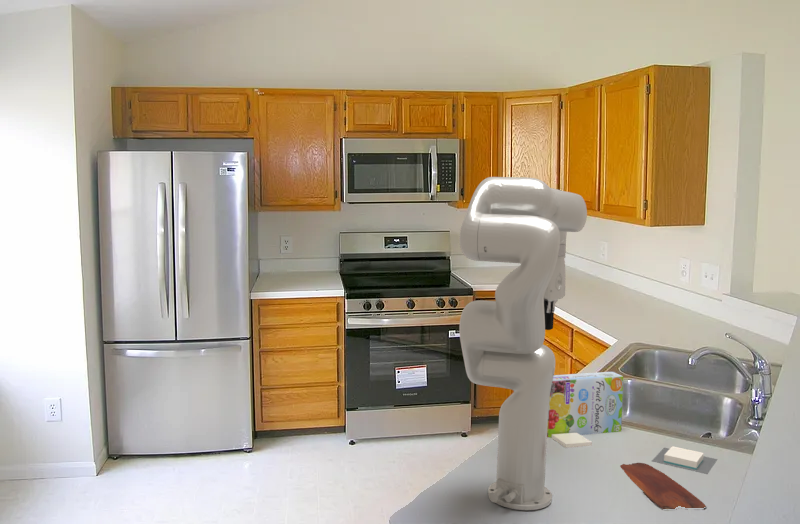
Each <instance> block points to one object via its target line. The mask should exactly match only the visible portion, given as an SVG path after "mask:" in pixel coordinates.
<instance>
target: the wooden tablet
mask: <svg viewBox="0 0 800 524" xmlns="http://www.w3.org/2000/svg"><path fill="white" fill-rule="evenodd" d="M619 467H620V468H621V469H622V471H623V473H625V474H626V476H627V477H628V478H629V479H630V480H631V482H633V484H635V486H637V488H638V489H640V490H641V492H643V494H644V495H645V496H646V497H647V498H648V499H649V500H650V501H651V502H653V504H655V505H656V506H657V507H658V508H660V509H661V508H662V509H661V510H663V509H675V508H676V507H678V506H681V507H685V508H704V507H706V508H707V505H706V504H705V503H704V502H703V501H702V500H700V499H699V498H698V497H697V496H696V495H694V494H693V493H691V492H690V491H689V490H687V488H685V487H684V486H682V484H679V483H678V482H677V481H675V480H673V479H672V478H671V477H670V476H668V475H667V474H665V472H662V471H661V470H659V469H658V468H655V467H653V466H652V465H649V464H647V463H643V462H634V463H631V464H630V463H629V464H625V463H623V464H621V465H619Z"/></svg>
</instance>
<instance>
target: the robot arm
mask: <svg viewBox="0 0 800 524" xmlns="http://www.w3.org/2000/svg"><path fill="white" fill-rule="evenodd" d="M587 210H588V209H587V204H586V201H585V199H584V198H583V196H582V195H580V194H578V193H575V192H571V191H565V190H561V189H557V188H552V187H550V186H549V185H548V184H547V183H546V182H545V181H543V180H542V179H538V178H535V177H524V176H523V177H521V176H520V177H518V176H516V177H512V176H511V177H510V176H488V177H486V178H485V179H483V180H482V181H481V182H480V183H479V184H478V185H477V187H476V188H475V190H474V192H473V194H472V196H471V199H470V202H469V204H468V207H467V210H466V211H465V212H466V213H465V215H464V218H463V220H462V222H461V225H460V226H461V227H460V229H459V230H460V231H459V240H458V241H459V242H458V243H459V247H460V251H461V253H462V254H463V255H464V257H465V258H467V259H469V260H471V261H476V262H477V261H478V262H489V263H490V262H491V263H505V264H506V263H507V264H508V263H510V264H512V263H513V264H520V265H519V266H518V267H516V268H515V269H513V270H512V271H510V272H508V274H507V275H506V276H505V277H504V278H503V279H502V280H501V281H500V283H499V284H498V285H497V287H496V288H495V293H494V298H495V300H483V299H480V300H479V299H478V300H473V301H470V302H469V303H467V304H466V305H465V306H464V308H463V310H462V312H461V315H460V318H459V328H458V329H459V341H460V346H461V352H462V357H463V362H464V367H465V374H466V376H467V378H468V379H469V381H470V382H471V383H473V384H474V385H475V384H476V385H478V386H486V387H494V388H502V389H507V390H508V389H509V390H512V391H513V392H512V393H511V394H510V395H509V396H508V397H507V398H506V399H505V400H504V402H503V403H502V404H501V406H500V409H499V412H498V415H499V416H498V432H497V433H498V435H497V457H496V459H497V461H496V480H495V482H493V483H491V484H490V485H489V486H488V489H487V495H488V499H489V500H490V502H491V503H495V504H497V505H499V506H502V507H504V508H507V509H511V510H517V511H536V510H537V511H538V510H541V509H544V508H546V507H548V506H549V505H550V504H552V502H553V494H552V491H551V490H550V489H549V488H548V487H546V486H545V481H546V463H547V461H546V460H547V459H546V458H547V444H548V443H547V442H548V441H547V440H548V437H547V426H548V409H549V398H550V391H551V386H552V381H553V376H554V375H555V370H556V356H555V353H554V352H553V350H552V349H551V348H550V347H548V345H545V344H544V341H545V338H546V331H550V330H553V329H554V314H555V309H556V308H555V307H556V303H557V302H558V300H561V299H563V298H564V297H565V295H566V264H565V263H566V262H565V259H566V250H567V249H566V248H567V233H578V232H581V231H582V230H583V229H584V227H585V225H586V223H587V222H586V221H587V218H588V211H587Z"/></svg>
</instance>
